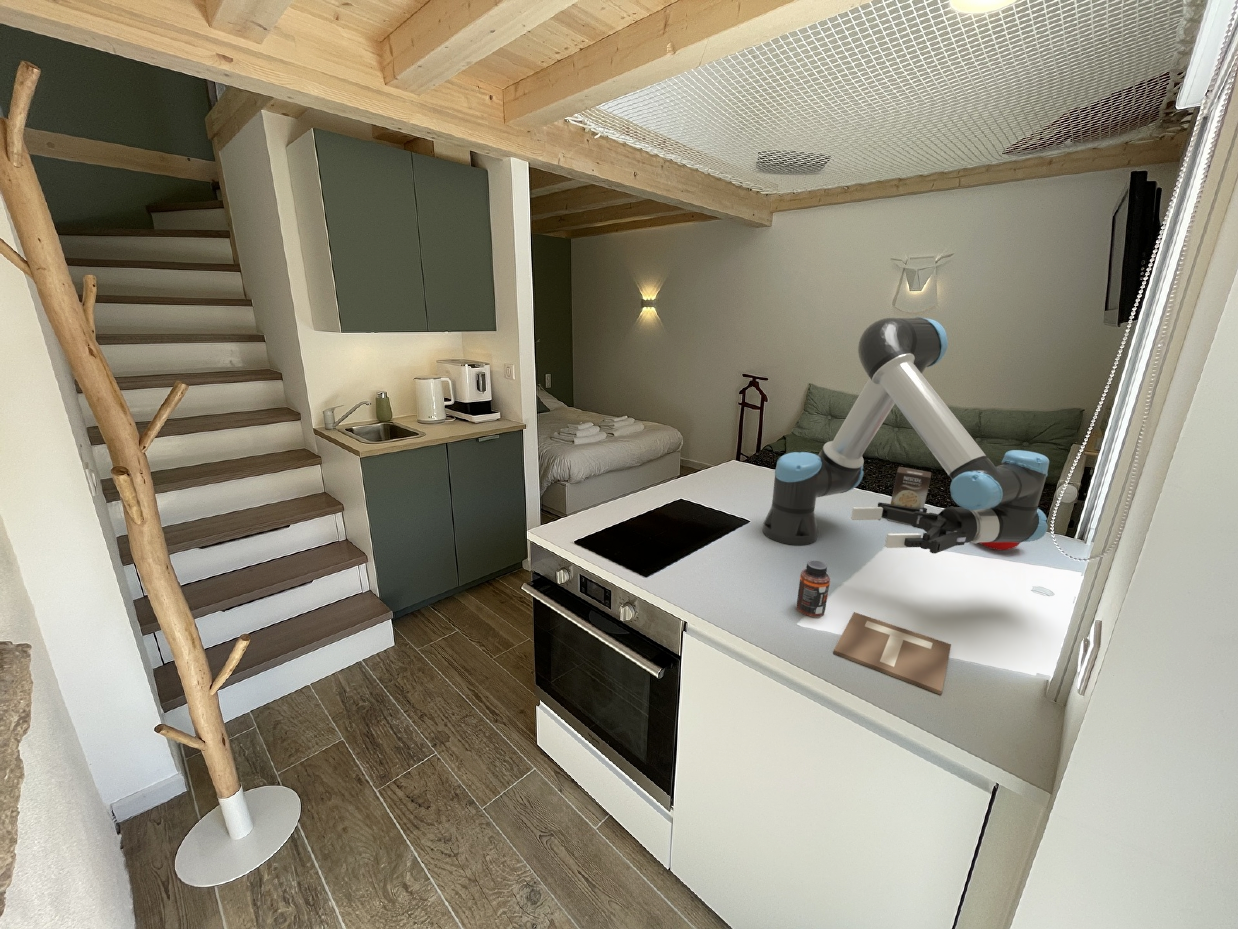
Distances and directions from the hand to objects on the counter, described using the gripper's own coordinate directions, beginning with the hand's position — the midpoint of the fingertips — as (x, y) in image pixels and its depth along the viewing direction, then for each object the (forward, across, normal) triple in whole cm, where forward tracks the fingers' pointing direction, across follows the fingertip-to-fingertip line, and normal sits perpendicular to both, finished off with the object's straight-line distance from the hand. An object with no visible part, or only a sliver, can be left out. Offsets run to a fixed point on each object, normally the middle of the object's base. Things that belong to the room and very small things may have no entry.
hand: (868, 526), depth 108 cm
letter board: (-1, -14, -20) cm, 24 cm away
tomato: (-55, +29, -20) cm, 66 cm away
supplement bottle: (+10, 0, -20) cm, 22 cm away
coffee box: (-40, +47, -20) cm, 65 cm away
